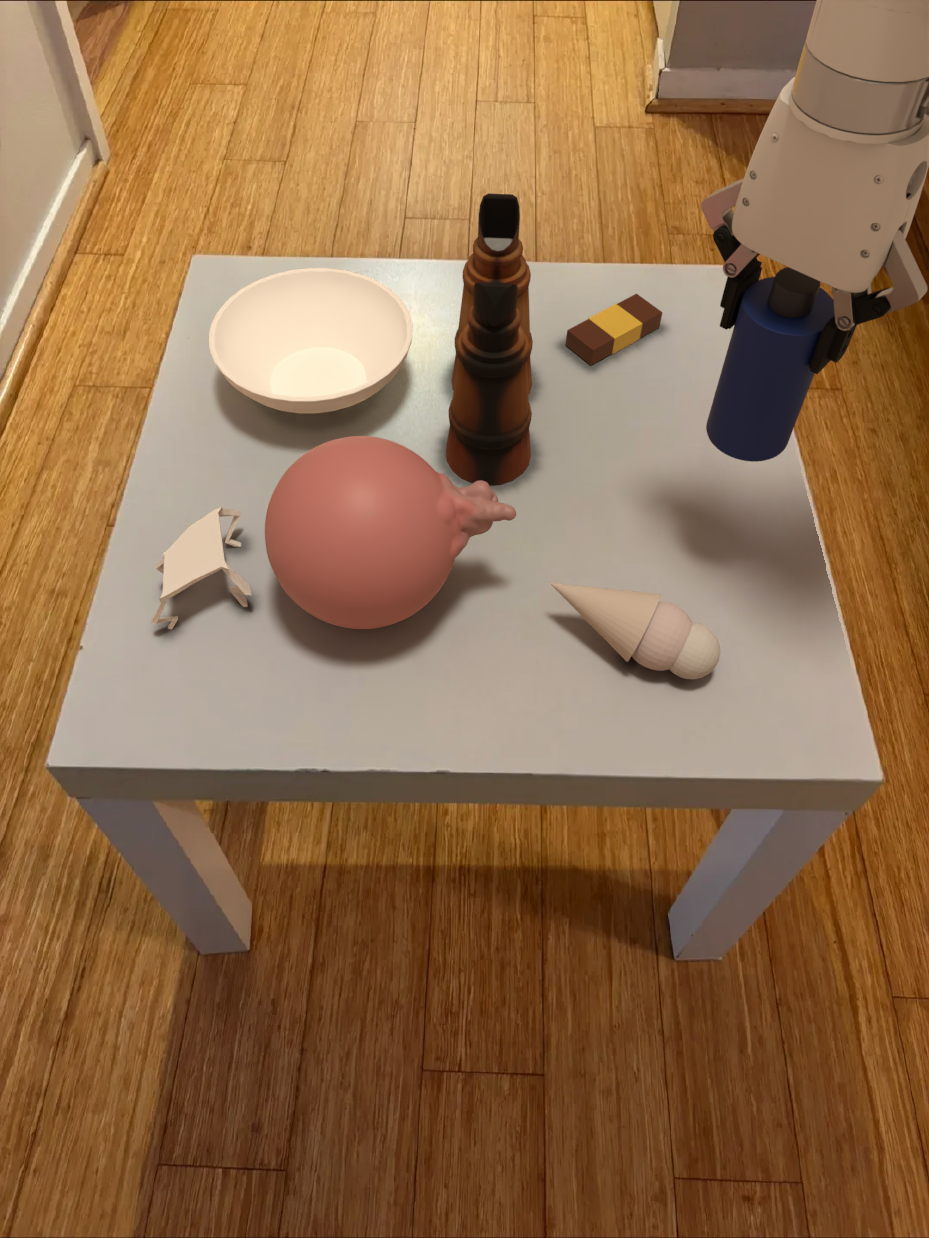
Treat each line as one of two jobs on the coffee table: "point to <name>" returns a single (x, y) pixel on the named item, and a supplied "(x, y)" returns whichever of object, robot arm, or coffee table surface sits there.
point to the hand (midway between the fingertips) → (778, 338)
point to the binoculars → (493, 353)
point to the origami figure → (198, 560)
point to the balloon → (370, 530)
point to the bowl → (311, 339)
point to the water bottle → (768, 365)
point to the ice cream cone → (646, 629)
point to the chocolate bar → (613, 329)
